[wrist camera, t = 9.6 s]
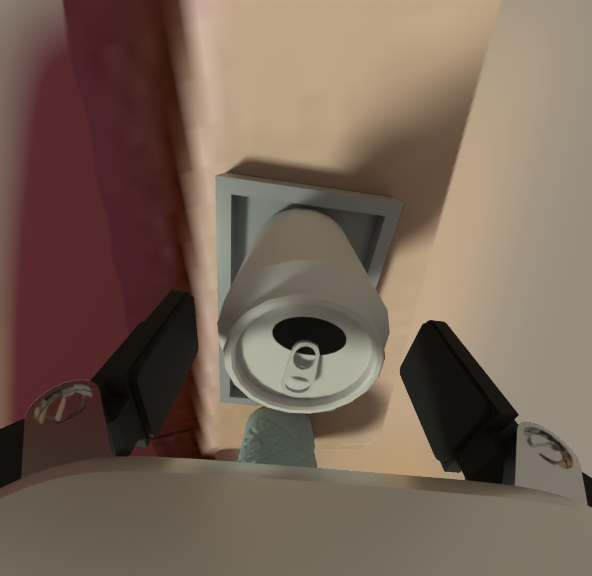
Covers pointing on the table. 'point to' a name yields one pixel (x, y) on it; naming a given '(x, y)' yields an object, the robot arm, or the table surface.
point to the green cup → (278, 439)
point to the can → (303, 317)
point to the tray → (284, 196)
